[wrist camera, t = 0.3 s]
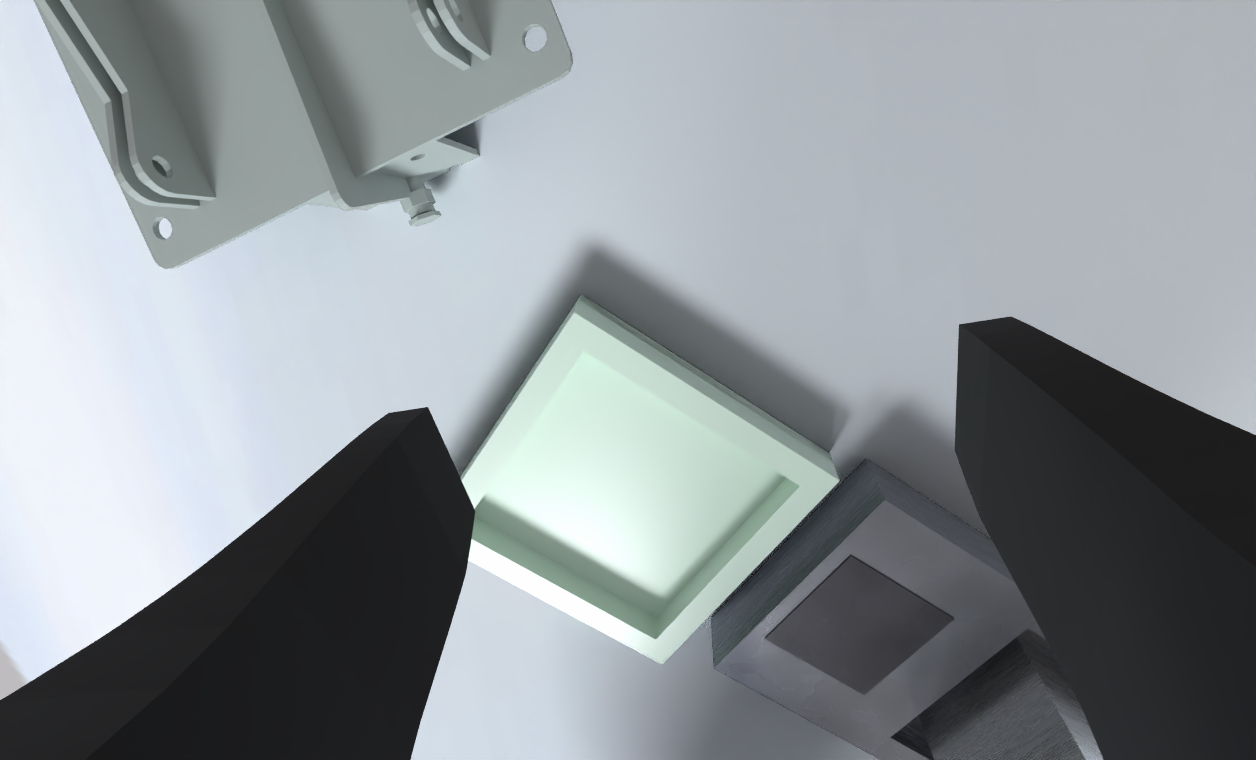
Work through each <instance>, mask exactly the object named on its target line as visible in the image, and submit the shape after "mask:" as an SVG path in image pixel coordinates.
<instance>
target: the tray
mask: <svg viewBox="0 0 1256 760" xmlns="http://www.w3.org/2000/svg"><path fill="white" fill-rule="evenodd" d="M460 479H461V481H462V483H463V485H464V487H465V489H466V492H467V494H468V496H469V498H470V500H471V503H472V505H473V507H474V509H475V518H474V525H473V532H472V539H471V546H470V552H469V558H468V560H469V561H471V562H473V563H475V564H476V565H478V566H480V567H482V568H484V569H486V570H487V571H489V572H491V573H493V574H495V575H497V576H499V577H500V578H502V579H504V580H506V581H508V582H510V583H512V584H513V585H515V586H517V587H519V588H521V589H523V590H525V591H526V592H528V593H530V594H532V595H534V596H536V597H537V598H539V599H541V600H543V601H545V602H547V603H549V604H550V605H552V606H554V607H556V608H558V609H560V610H562V611H563V612H565V613H567V614H569V615H571V616H573V617H574V618H576V619H578V620H580V621H582V622H584V623H586V624H587V625H589V626H591V627H593V628H595V629H597V630H599V631H600V632H602V633H604V634H606V635H608V636H610V637H612V638H613V639H615V640H617V641H619V642H621V643H623V644H624V645H626V646H628V647H630V648H632V649H634V650H636V651H637V652H639V653H641V654H643V655H645V656H647V657H649V658H650V659H652V660H654V661H656V662H658V663H660V664H661V665H662V664H663V663H664V662H665V661H666V660H667V659H668V658H669V657H670V656H671V655H672V654H673V653H674V652H675V651H676V650H677V649H678V648H679V647H680V646H681V645H682V644H683V643H684V642H685V641H686V640H687V639H688V637H689V636H690V635H691V634H692V633H693V632H694V631H695V630H696V629H697V628H698V627H699V626H700V625H701V624H702V623H703V622H704V621H705V620H706V619H707V618H708V617H709V616H710V615H711V614H712V613H713V612H714V611H715V610H716V609H717V607H718V606H719V605H720V604H721V603H722V602H723V601H724V600H725V599H726V598H727V597H728V596H729V595H730V594H731V593H732V592H733V591H734V590H735V589H736V588H737V587H738V586H739V585H740V584H741V583H742V582H743V581H744V580H745V578H746V577H747V576H748V575H749V574H750V573H751V572H752V571H753V570H754V569H755V568H756V567H757V566H758V565H759V564H760V563H761V562H762V561H763V560H764V559H765V558H766V557H767V556H768V555H769V554H770V553H771V552H772V551H773V550H774V548H775V547H776V546H777V545H778V544H779V543H780V542H781V541H782V540H783V539H784V538H785V537H786V536H787V535H788V534H789V533H790V532H791V531H792V530H793V529H794V528H795V527H796V526H797V525H798V524H799V523H800V522H801V521H802V519H803V518H804V517H805V516H806V515H807V514H808V513H809V512H810V511H811V510H812V509H813V508H814V507H815V506H816V505H817V504H818V503H819V502H820V501H821V500H822V499H823V498H824V497H825V496H826V495H827V494H828V493H829V492H830V491H831V489H832V488H833V487H834V486H835V485H836V484H837V483H838V482H839V481H840V480H839V477H838V474H837V472H836V469H835V466H834V463H833V461H832V458H831V455H830V453H828V452H826V451H825V450H823V449H822V448H820V447H819V446H817V445H816V444H814V443H812V442H811V441H809V440H808V439H806V438H805V437H803V436H801V435H800V434H798V433H797V432H795V431H794V430H792V429H791V428H789V427H787V426H786V425H784V424H783V423H781V422H780V421H778V420H777V419H775V418H773V417H772V416H770V415H769V414H767V413H766V412H764V411H762V410H761V409H759V408H758V407H756V406H755V405H753V404H752V403H750V402H748V401H747V400H745V399H744V398H742V397H741V396H739V395H738V394H736V393H734V392H733V391H731V390H730V389H728V388H727V387H725V386H724V385H722V384H720V383H719V382H717V381H716V380H714V379H713V378H711V377H709V376H708V375H706V374H705V373H703V372H702V371H700V370H699V369H697V368H695V367H694V366H692V365H691V364H689V363H688V362H686V361H685V360H683V359H681V358H680V357H678V356H677V355H675V354H674V353H672V352H670V351H669V350H667V349H666V348H664V347H663V346H661V345H660V344H658V343H656V342H655V341H653V340H652V339H650V338H649V337H647V336H646V335H644V334H642V333H641V332H639V331H638V330H636V329H635V328H633V327H631V326H630V325H628V324H627V323H625V322H624V321H622V320H621V319H619V318H617V317H616V316H614V315H613V314H611V313H610V312H608V311H607V310H605V309H603V308H602V307H600V306H599V305H597V304H596V303H594V302H592V301H591V300H589V299H588V298H586V297H585V296H583V295H582V294H581V295H580V297H579V298H578V300H577V301H576V303H575V304H574V306H573V307H572V309H571V310H570V312H569V313H568V315H567V316H566V318H565V319H564V321H563V322H562V324H561V325H560V327H559V328H558V330H557V331H556V333H555V334H554V336H553V337H552V339H551V340H550V342H549V343H548V345H547V346H546V348H545V349H544V351H543V352H542V354H541V355H540V357H539V358H538V360H537V361H536V363H535V364H534V366H533V367H532V369H531V370H530V372H529V373H528V375H527V376H526V378H525V379H524V381H523V382H522V384H521V385H520V387H519V388H518V390H517V391H516V393H515V394H514V396H513V397H512V399H511V400H510V402H509V403H508V405H507V406H506V408H505V409H504V411H503V412H502V414H501V415H500V417H499V418H498V420H497V421H496V423H495V424H494V426H493V428H492V429H491V431H490V432H489V434H488V435H487V437H486V438H485V440H484V441H483V443H482V444H481V446H480V447H479V449H478V450H477V452H476V453H475V455H474V456H473V458H472V459H471V461H470V462H469V464H468V465H467V467H466V468H465V470H464V471H463V473H462V474H461V476H460Z"/></svg>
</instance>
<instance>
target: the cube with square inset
mask: <svg viewBox="0 0 1256 760" xmlns="http://www.w3.org/2000/svg"><path fill="white" fill-rule="evenodd" d="M918 716H919V719H920V721H921V724H922V727H923V730H924V733H925V735H926V738H927V741H928V744H929V747H930V749H931V752H932V755H933V758H934V760H1103V757H1102V755H1101V752H1100V750H1099V748H1098V745H1097V743H1096V741H1095V738H1094V736H1093V733H1092V731H1091V729H1090V726H1089V724H1088V722H1087V719H1086V717H1085V714H1084V712H1083V710H1082V708H1081V706H1080V704H1079V702H1078V700H1077V698H1076V695H1075V693H1074V691H1073V689H1072V687H1071V685H1070V683H1069V681H1068V679H1067V677H1066V675H1065V673H1064V671H1063V669H1062V667H1061V666H1060V664H1059V662H1058V660H1057V658H1056V656H1055V655H1054V654H1053V653H1051V652H1050V651H1048V650H1047V649H1045V648H1043V647H1042V646H1040V645H1039V644H1037V643H1035V642H1034V641H1032V640H1030V639H1029V638H1027V637H1026V636H1024V635H1022V634H1020V635H1019V636H1017V637H1016V638H1015V639H1014V640H1012V641H1011V642H1010V643H1009V644H1007V645H1006V646H1005V647H1003V648H1002V649H1001V650H1000V651H998V652H997V653H996V654H995V655H993V656H992V657H991V658H990V659H988V660H987V661H986V662H985V663H983V664H982V665H981V666H980V667H978V668H977V669H976V670H975V671H973V672H972V673H971V674H969V675H968V676H967V677H966V678H964V679H963V680H962V681H961V682H959V683H958V684H957V685H956V686H954V687H953V688H952V689H951V690H949V691H948V692H947V693H946V694H944V695H943V696H942V697H941V698H939V699H938V700H937V701H935V702H934V703H933V704H932V705H930V706H929V707H928V708H927V709H925V710H924V711H923V712H922V713H920V714H919V715H918Z"/></svg>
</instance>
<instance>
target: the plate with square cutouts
mask: <svg viewBox="0 0 1256 760" xmlns="http://www.w3.org/2000/svg"><path fill="white" fill-rule="evenodd" d="M711 629H712V646H713V663H714V669H716V670H718V671H720V672H721V673H723V674H725V675H727V676H729V677H730V678H732V679H734V680H736V681H738V682H740V683H741V684H743V685H745V686H747V687H749V688H751V689H752V690H754V691H756V692H758V693H760V694H761V695H763V696H765V697H767V698H769V699H771V700H772V701H774V702H776V703H778V704H780V705H782V706H783V707H785V708H787V709H789V710H791V711H793V712H794V713H796V714H798V715H800V716H802V717H803V718H805V719H807V720H809V721H811V722H813V723H814V724H816V725H818V726H820V727H822V728H824V729H825V730H827V731H829V732H831V733H833V734H834V735H836V736H838V737H840V738H842V739H844V740H845V741H847V742H849V743H851V744H853V745H855V746H856V747H858V748H860V749H862V750H864V751H865V752H867V753H869V754H871V755H873V756H875V757H876V758H878V759H880V760H934V758H933V755H932V752H931V749H930V747H929V744H928V741H927V738H926V735H925V733H924V730H923V727H922V724H921V721H920V719H919V716H918V715H919V714H920V713H922V712H923V711H924V710H925V709H927V708H928V707H929V706H930V705H932V704H933V703H934V702H935V701H937V700H938V699H939V698H941V697H942V696H943V695H944V694H946V693H947V692H948V691H949V690H951V689H952V688H953V687H954V686H956V685H957V684H958V683H959V682H961V681H962V680H963V679H964V678H966V677H967V676H968V675H969V674H971V673H972V672H973V671H975V670H976V669H977V668H978V667H980V666H981V665H982V664H983V663H985V662H986V661H987V660H988V659H990V658H991V657H992V656H993V655H995V654H996V653H997V652H998V651H1000V650H1001V649H1002V648H1003V647H1005V646H1006V645H1007V644H1009V643H1010V642H1011V641H1012V640H1014V639H1015V638H1016V637H1017V636H1019V635H1020V634H1022V635H1024V636H1026V637H1027V638H1029V639H1030V640H1032V641H1034V642H1035V643H1037V644H1039V645H1040V646H1042V647H1043V648H1045V649H1047V650H1048V651H1050V652H1051V653H1053V651H1052V649H1051V647H1050V645H1049V644H1048V642H1047V640H1046V638H1045V636H1044V634H1043V633H1042V631H1041V629H1040V627H1039V625H1038V623H1037V622H1036V620H1035V618H1034V616H1033V614H1032V612H1031V611H1030V609H1029V607H1028V605H1027V603H1026V601H1025V600H1024V598H1023V596H1022V594H1021V592H1020V590H1019V589H1018V587H1017V585H1016V583H1015V581H1014V579H1013V578H1012V576H1011V574H1010V572H1009V570H1008V568H1007V567H1006V565H1005V563H1004V561H1003V559H1002V557H1001V555H1000V554H999V552H998V550H997V548H996V546H995V544H994V542H993V540H991V539H990V538H988V537H987V536H985V535H983V534H982V533H980V532H979V531H977V530H976V529H974V528H973V527H971V526H970V525H968V524H966V523H965V522H963V521H962V520H960V519H959V518H957V517H956V516H954V515H953V514H951V513H949V512H948V511H946V510H945V509H943V508H942V507H940V506H939V505H937V504H936V503H934V502H932V501H931V500H929V499H928V498H926V497H925V496H923V495H922V494H920V493H919V492H917V491H915V490H914V489H912V488H911V487H909V486H908V485H906V484H905V483H903V482H902V481H900V480H898V479H897V478H895V477H894V476H892V475H891V474H889V473H888V472H886V471H885V470H883V469H881V468H880V467H878V466H877V465H875V464H874V463H872V462H871V461H869V460H868V459H865V460H864V461H863V462H862V463H861V464H860V466H859V467H858V468H857V469H856V470H855V471H854V472H853V473H852V474H851V475H850V476H849V477H848V478H847V479H846V480H845V481H844V482H843V483H842V484H841V485H840V486H839V487H838V488H837V489H836V490H835V491H834V492H833V493H832V494H831V495H830V496H829V497H828V499H827V500H826V501H825V502H824V503H823V504H822V505H821V506H820V507H819V508H818V509H817V510H816V511H815V512H814V513H813V514H812V515H811V516H810V517H809V518H808V519H807V520H806V521H805V522H804V523H803V524H802V525H801V526H800V527H799V528H798V529H797V530H796V532H795V533H794V534H793V535H792V536H791V537H790V538H789V539H788V540H787V541H786V542H785V543H784V544H783V545H782V546H781V547H780V548H779V549H778V550H777V551H776V552H775V553H774V554H773V555H772V556H771V557H770V558H769V559H768V560H767V561H766V562H765V563H764V564H763V566H762V567H761V568H760V569H759V570H758V571H757V572H756V573H755V574H754V575H753V576H752V577H751V578H750V579H749V580H748V581H747V582H746V583H745V584H744V585H743V586H742V587H741V588H740V589H739V590H738V591H737V592H736V593H735V594H734V595H733V596H732V597H731V599H730V600H729V601H728V602H727V603H726V604H725V605H724V606H723V607H722V608H721V609H720V610H719V611H718V612H717V613H716V614H715V615H714V616H713V617H712V618H711ZM1053 654H1054V653H1053Z"/></svg>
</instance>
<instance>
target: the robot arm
mask: <svg viewBox="0 0 1256 760" xmlns="http://www.w3.org/2000/svg"><path fill="white" fill-rule="evenodd" d="M955 452H956V455H957V457H958V460H959V463H960V466H961V468H962V471H963V474H964V477H965V479H966V482H967V485H968V488H969V490H970V493H971V495H972V498H973V500H974V503H975V505H976V508H977V511H978V513H979V516H980V518H981V520H982V522H983V523H984V525H985V527H986V529H987V531H988V533H989V535H990V537H991V539H992V540H993V542H994V544H995V546H996V548H997V550H998V552H999V554H1000V555H1001V557H1002V559H1003V561H1004V563H1005V565H1006V567H1007V568H1008V570H1009V572H1010V574H1011V576H1012V578H1013V579H1014V581H1015V583H1016V585H1017V587H1018V589H1019V590H1020V592H1021V594H1022V596H1023V598H1024V600H1025V601H1026V603H1027V605H1028V607H1029V609H1030V611H1031V612H1032V614H1033V616H1034V618H1035V620H1036V622H1037V623H1038V625H1039V627H1040V629H1041V631H1042V633H1043V634H1044V636H1045V638H1046V640H1047V642H1048V644H1049V645H1050V647H1051V649H1052V651H1053V653H1054V655H1055V656H1056V658H1057V660H1058V662H1059V664H1060V666H1061V667H1062V669H1063V671H1064V673H1065V675H1066V677H1067V679H1068V681H1069V683H1070V685H1071V687H1072V689H1073V691H1074V693H1075V695H1076V698H1077V700H1078V702H1079V704H1080V706H1081V708H1082V710H1083V712H1084V714H1085V717H1086V719H1087V722H1088V724H1089V726H1090V729H1091V731H1092V733H1093V736H1094V738H1095V741H1096V743H1097V745H1098V748H1099V750H1100V752H1101V755H1102V757H1103V760H1256V435H1254V434H1252V433H1249V432H1247V431H1245V430H1242V429H1240V428H1238V427H1236V426H1233V425H1231V424H1229V423H1226V422H1224V421H1222V420H1220V419H1217V418H1215V417H1213V416H1211V415H1208V414H1206V413H1204V412H1202V411H1200V410H1197V409H1195V408H1193V407H1191V406H1189V405H1187V404H1185V403H1183V402H1180V401H1178V400H1176V399H1174V398H1172V397H1170V396H1168V395H1166V394H1164V393H1162V392H1160V391H1158V390H1155V389H1153V388H1151V387H1149V386H1147V385H1145V384H1143V383H1141V382H1139V381H1137V380H1135V379H1133V378H1131V377H1129V376H1127V375H1125V374H1123V373H1121V372H1119V371H1118V370H1116V369H1114V368H1112V367H1110V366H1108V365H1106V364H1104V363H1102V362H1100V361H1098V360H1096V359H1094V358H1092V357H1090V356H1089V355H1087V354H1085V353H1083V352H1081V351H1079V350H1077V349H1075V348H1073V347H1071V346H1069V345H1067V344H1066V343H1064V342H1062V341H1060V340H1058V339H1056V338H1054V337H1052V336H1050V335H1048V334H1046V333H1044V332H1042V331H1040V330H1038V329H1036V328H1034V327H1032V326H1030V325H1028V324H1026V323H1024V322H1022V321H1020V320H1017V319H1015V318H1013V317H1005V318H998V319H992V320H986V321H979V322H973V323H966V324H960V325H959V342H958V371H957V400H956V428H955ZM474 518H475V509H474V507H473V505H472V503H471V500H470V498H469V496H468V494H467V492H466V489H465V487H464V485H463V483H462V481H461V479H460V476H459V474H458V472H457V470H456V468H455V465H454V463H453V461H452V459H451V457H450V454H449V452H448V450H447V448H446V446H445V444H444V441H443V439H442V437H441V435H440V433H439V430H438V428H437V426H436V424H435V422H434V420H433V417H432V415H431V413H430V411H429V409H428V407H425V408H419V409H412V410H406V411H400V412H393V413H388V414H387V415H385V416H384V417H383V418H381V419H380V420H378V421H377V422H375V423H374V424H373V425H371V426H370V427H369V428H368V429H366V430H365V431H364V432H363V433H361V434H360V435H359V436H358V437H356V438H355V439H354V440H353V441H352V442H350V443H349V444H348V445H347V446H346V447H345V448H343V449H342V450H341V451H340V452H339V453H338V454H336V455H335V456H334V457H333V458H332V459H331V460H329V461H328V462H327V463H326V464H325V465H324V466H322V467H321V468H320V469H319V470H318V471H317V472H315V473H314V474H313V475H312V476H311V477H310V478H308V479H307V480H306V481H305V482H304V483H303V484H302V485H300V486H299V487H298V488H297V489H296V490H295V491H293V492H292V493H291V494H290V495H289V496H288V497H286V498H285V499H284V500H283V501H282V502H281V503H279V504H278V505H277V506H276V507H275V508H274V509H272V510H271V511H270V512H269V513H268V514H266V515H265V516H264V517H263V518H261V519H260V520H259V521H258V522H256V523H255V524H254V525H253V526H251V527H250V528H249V529H248V530H246V531H245V532H244V533H243V534H242V535H240V536H239V537H238V538H237V539H235V540H234V541H233V542H232V543H230V544H229V545H228V546H227V547H225V548H224V549H223V550H222V551H220V552H219V553H218V554H217V555H215V556H214V557H213V558H212V559H211V560H209V561H208V562H207V563H206V564H204V565H203V566H202V567H200V568H199V569H198V570H196V571H195V572H194V573H192V574H191V575H190V576H188V577H187V578H186V579H184V580H183V581H182V582H180V583H179V584H178V585H176V586H175V587H174V588H172V589H171V590H169V591H168V592H167V593H165V594H164V595H163V596H161V597H160V598H158V599H157V600H155V601H154V602H153V603H151V604H150V605H148V606H147V607H145V608H144V609H143V610H141V611H140V612H138V613H137V614H135V615H134V616H133V617H131V618H130V619H128V620H127V621H125V622H124V623H122V624H121V625H120V626H118V627H117V628H115V629H114V630H112V631H111V632H109V633H108V634H106V635H105V636H103V637H102V638H100V639H98V640H97V641H95V642H94V643H92V644H90V645H89V646H87V647H86V648H84V649H82V650H81V651H79V652H78V653H76V654H74V655H73V656H71V657H69V658H68V659H66V660H65V661H63V662H61V663H60V664H58V665H57V666H55V667H53V668H52V669H50V670H49V671H47V672H45V673H44V674H42V675H41V676H39V677H37V678H36V679H34V680H33V681H31V682H29V683H28V684H26V685H25V686H23V687H21V688H20V689H18V690H17V691H15V692H14V693H12V694H10V695H9V696H7V697H5V698H3V699H2V700H0V760H410V759H411V755H412V751H413V748H414V744H415V740H416V736H417V733H418V729H419V725H420V721H421V718H422V715H423V712H424V708H425V705H426V702H427V699H428V696H429V692H430V689H431V686H432V683H433V680H434V676H435V673H436V670H437V667H438V664H439V660H440V657H441V654H442V651H443V648H444V644H445V641H446V638H447V635H448V632H449V628H450V625H451V622H452V618H453V615H454V612H455V609H456V605H457V602H458V599H459V595H460V592H461V588H462V585H463V581H464V578H465V574H466V569H467V563H468V558H469V552H470V546H471V539H472V532H473V525H474Z"/></svg>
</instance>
